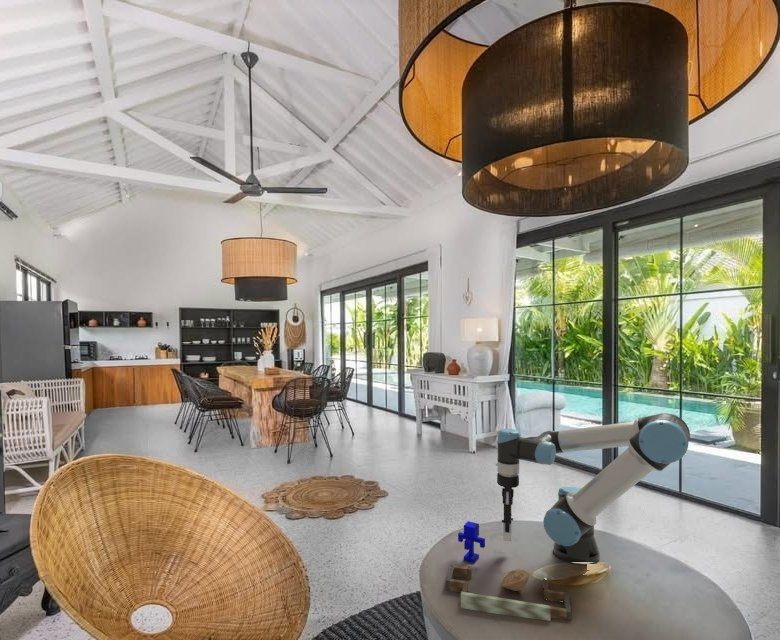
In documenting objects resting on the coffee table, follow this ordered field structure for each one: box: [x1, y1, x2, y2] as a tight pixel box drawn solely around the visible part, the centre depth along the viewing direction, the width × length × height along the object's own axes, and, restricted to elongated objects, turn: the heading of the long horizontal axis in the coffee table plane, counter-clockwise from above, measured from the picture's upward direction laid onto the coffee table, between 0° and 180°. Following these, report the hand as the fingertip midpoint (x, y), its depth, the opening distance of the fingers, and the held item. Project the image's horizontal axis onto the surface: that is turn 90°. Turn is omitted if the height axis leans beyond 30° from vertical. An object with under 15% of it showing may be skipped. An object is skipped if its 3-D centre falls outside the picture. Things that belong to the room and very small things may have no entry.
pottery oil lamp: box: [501, 568, 531, 592], centre depth 142 cm, size 9×12×7 cm
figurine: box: [457, 520, 486, 564], centre depth 160 cm, size 8×8×12 cm
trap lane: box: [445, 564, 572, 622], centre depth 138 cm, size 35×18×4 cm, turn 74°
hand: (507, 539), depth 164 cm, fingers closed
